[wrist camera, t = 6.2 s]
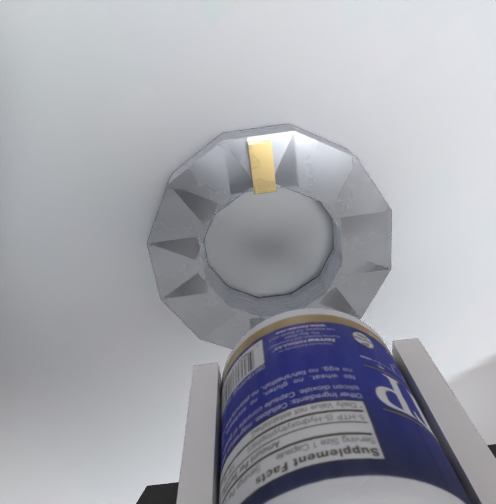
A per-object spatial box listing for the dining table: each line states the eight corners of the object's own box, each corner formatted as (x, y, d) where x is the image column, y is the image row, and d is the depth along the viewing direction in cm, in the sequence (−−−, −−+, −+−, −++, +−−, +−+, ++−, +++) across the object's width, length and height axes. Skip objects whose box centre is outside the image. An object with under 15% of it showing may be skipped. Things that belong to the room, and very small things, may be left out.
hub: (180, 344, 26) (175, 375, 24) (133, 145, 21) (120, 158, 19) (379, 318, 26) (395, 347, 24) (378, 111, 21) (399, 119, 19)
